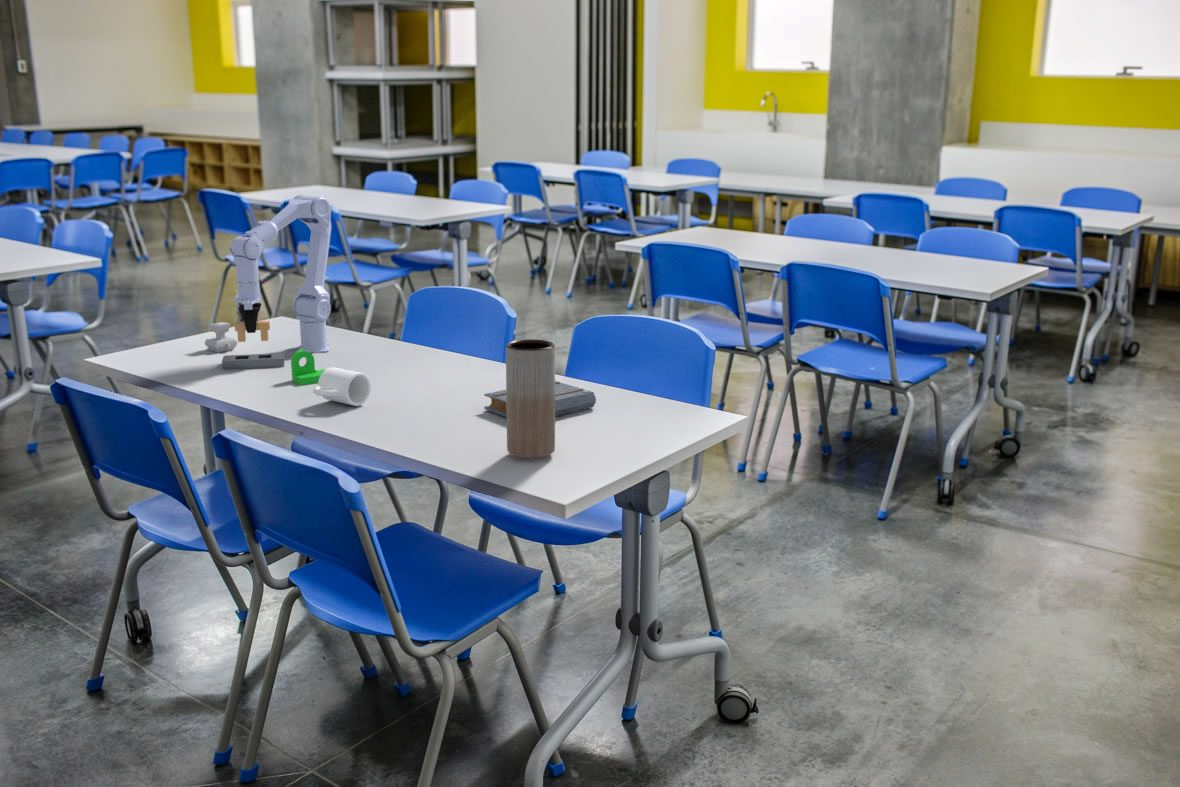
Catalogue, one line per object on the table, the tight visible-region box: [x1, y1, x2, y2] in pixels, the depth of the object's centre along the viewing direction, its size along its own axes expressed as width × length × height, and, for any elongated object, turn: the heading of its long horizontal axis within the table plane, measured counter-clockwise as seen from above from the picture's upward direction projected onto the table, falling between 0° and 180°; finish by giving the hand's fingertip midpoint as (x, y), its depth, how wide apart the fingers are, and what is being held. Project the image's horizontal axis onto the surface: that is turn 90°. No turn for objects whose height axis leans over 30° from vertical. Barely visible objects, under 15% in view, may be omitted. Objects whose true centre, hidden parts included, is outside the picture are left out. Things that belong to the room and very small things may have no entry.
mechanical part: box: [290, 349, 327, 386], centre depth 288 cm, size 12×6×8 cm, turn 125°
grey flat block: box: [221, 352, 286, 371], centre depth 303 cm, size 7×16×2 cm, turn 103°
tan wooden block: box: [234, 320, 271, 343], centre depth 301 cm, size 3×9×5 cm, turn 103°
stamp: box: [204, 321, 238, 353], centre depth 318 cm, size 9×7×8 cm
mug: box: [312, 366, 372, 407], centre depth 265 cm, size 12×10×8 cm
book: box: [483, 380, 597, 418], centre depth 263 cm, size 21×16×5 cm
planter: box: [505, 339, 556, 459], centre depth 228 cm, size 10×10×23 cm
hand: (251, 331), depth 300 cm, fingers closed on tan wooden block, 3 cm apart
